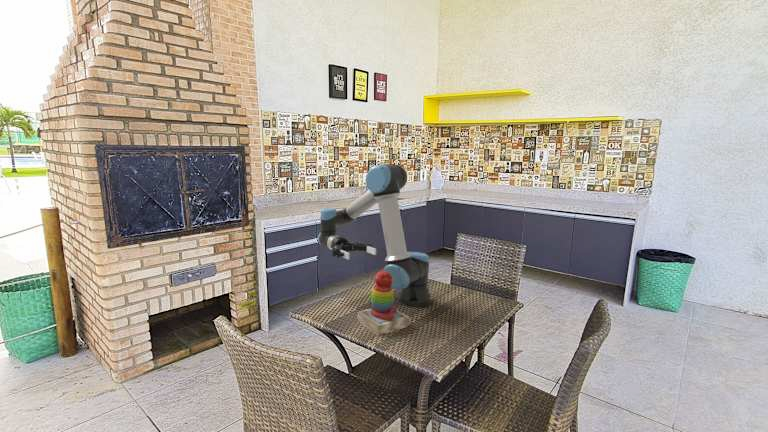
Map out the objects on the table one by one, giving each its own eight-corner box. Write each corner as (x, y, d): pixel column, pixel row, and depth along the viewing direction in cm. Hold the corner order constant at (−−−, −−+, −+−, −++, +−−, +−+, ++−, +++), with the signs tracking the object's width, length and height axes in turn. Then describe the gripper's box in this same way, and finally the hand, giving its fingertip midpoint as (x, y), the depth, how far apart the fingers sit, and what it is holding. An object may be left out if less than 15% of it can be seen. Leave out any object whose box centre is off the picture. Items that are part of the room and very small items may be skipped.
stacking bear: (392, 320, 148) (394, 277, 145) (367, 317, 150) (368, 274, 147) (397, 309, 158) (398, 268, 155) (373, 307, 160) (374, 266, 157)
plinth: (386, 312, 165) (387, 303, 165) (408, 326, 154) (409, 316, 153) (357, 320, 157) (357, 310, 156) (378, 335, 145) (378, 325, 144)
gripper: (360, 248, 188) (385, 258, 171) (314, 255, 173) (336, 267, 157) (360, 233, 187) (386, 242, 170) (313, 239, 172) (336, 249, 155)
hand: (362, 254), depth 163 cm, fingers open, 13 cm apart
